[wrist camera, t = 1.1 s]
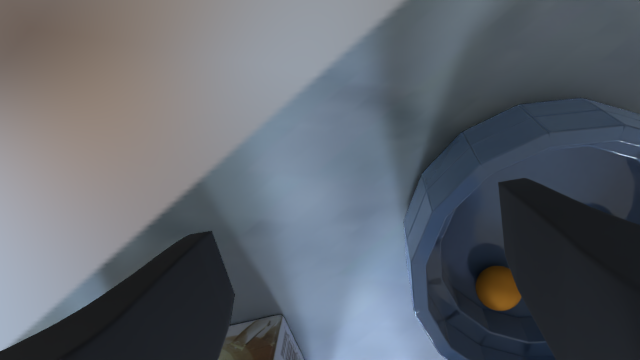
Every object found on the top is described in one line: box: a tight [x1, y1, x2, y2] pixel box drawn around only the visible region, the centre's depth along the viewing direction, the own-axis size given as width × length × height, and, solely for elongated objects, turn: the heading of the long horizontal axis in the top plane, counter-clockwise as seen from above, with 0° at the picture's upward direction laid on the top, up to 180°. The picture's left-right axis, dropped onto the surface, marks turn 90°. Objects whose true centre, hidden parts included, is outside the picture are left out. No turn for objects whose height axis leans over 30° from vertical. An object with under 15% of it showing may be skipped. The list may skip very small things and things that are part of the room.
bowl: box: [404, 98, 640, 360], centre depth 21 cm, size 12×12×4 cm
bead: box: [475, 266, 521, 311], centre depth 22 cm, size 2×2×2 cm
